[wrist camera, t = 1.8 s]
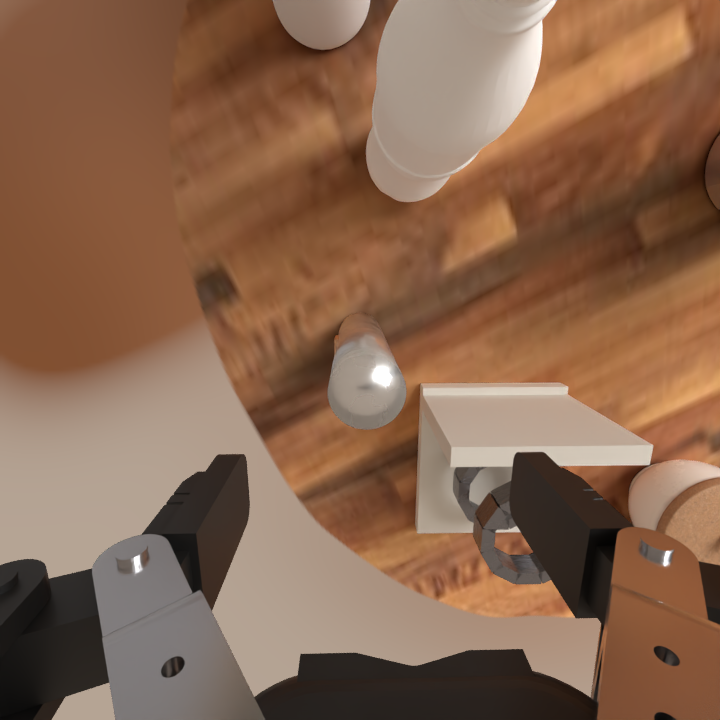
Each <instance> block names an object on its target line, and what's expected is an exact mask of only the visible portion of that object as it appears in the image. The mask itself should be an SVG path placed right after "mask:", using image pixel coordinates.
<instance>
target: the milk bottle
mask: <svg viewBox="0 0 720 720" xmlns="http://www.w3.org/2000/svg"><path fill="white" fill-rule="evenodd" d="M272 1H273V4H274V7H275V10H276V13H277V15H278V17H279V19H280V21H281V23H282V25H283V26H284V28H285V29H286V31H287V32H288V33H289V34H290V35H291V36H292V37H293V38H294V39H295V40H297V41H298V42H300V43H301V44H303V45H305V46H307V47H310V48H313V49H319V50H326V49H333V48H336V47H340V46H341V45H343V44H345V43H347V42H348V41H349V40H350V39H352V38H353V37H354V36H355V35H356V34H357V32H358V31H359V30H360V28H361V27H362V25H363V23H364V21H365V19H366V17H367V14H368V10H369V6H370V0H272Z"/></svg>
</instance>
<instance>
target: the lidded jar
mask: <svg viewBox="0 0 720 720" xmlns="http://www.w3.org/2000/svg"><path fill="white" fill-rule="evenodd" d="M628 509H629V515H630V518H631V521H632V523H633V525H634V527H640V528H646V529H651V530H654V531H657V532H660V533H663V534H665V535H668V536H670V537H672V538H674V539H676V540H677V541H679V542H681V543H682V544H684V545H685V546H686V547H688V548H689V549H690V550H691V551H692V552H693V553H694V554H695V556H696V557H697V559H698V561H700V562H705V563H711V564H716V565H720V468H718V467H716V466H713V465H710V464H707V463H703V462H699V461H693V460H669V461H665V462H661V463H656V464H652V465H649V466H647V467H645V468H644V469H642V470H641V471H640V472H639V473H638V474H637V475H636V476H635V477H634V478H633V480H632V482H631V484H630V487H629V498H628Z"/></svg>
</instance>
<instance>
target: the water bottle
mask: <svg viewBox="0 0 720 720" xmlns="http://www.w3.org/2000/svg"><path fill="white" fill-rule="evenodd" d="M556 1H557V0H399V1H398V2H397V4H396V6H395V7H394V9H393V11H392V13H391V15H390V17H389V19H388V21H387V23H386V25H385V28H384V32H383V35H382V38H381V41H380V46H379V51H378V56H377V72H376V74H377V84H376V91H375V95H374V99H373V107H372V124H373V127H372V128H371V130H370V133H369V136H368V140H367V146H366V162H367V167H368V171H369V174H370V176H371V178H372V180H373V182H374V183H375V185H376V186H377V187H378V189H379V190H380V191H381V192H383V193H385V194H386V195H388V196H390V197H392V198H393V199H395V200H397V201H400V202H417V201H420V200H423V199H425V198H428V197H430V196H431V195H433V194H435V193H436V192H437V191H438V190H439V189H441V188H442V186H443V185H444V184H445V183H446V182H447V180H448V179H449V177H450V176H451V175H453V174H455V173H457V172H458V171H460V170H461V169H463V168H464V167H465V166H467V165H468V164H469V163H470V162H471V161H472V160H473V159H474V158H475V157H476V156H477V154H478V153H479V151H480V150H481V149H482V148H484V147H485V146H487V145H488V144H490V143H492V142H493V141H495V140H496V139H497V138H498V137H499V136H500V135H501V134H503V133H504V132H505V131H506V130H507V129H508V127H509V126H510V125H511V124H512V123H513V121H514V120H515V119H516V117H517V116H518V114H519V113H520V111H521V110H522V108H523V107H524V105H525V103H526V101H527V99H528V96H529V94H530V92H531V90H532V88H533V86H534V83H535V79H536V76H537V73H538V69H539V64H540V58H541V50H542V19H544V17H545V16H546V15H547V14H548V12H549V11H550V10H551V9H552V7H553V6H554V4H555V3H556Z"/></svg>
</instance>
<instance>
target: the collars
mask: <svg viewBox="0 0 720 720" xmlns="http://www.w3.org/2000/svg"><path fill="white" fill-rule="evenodd" d="M484 468H486V467H456V468H455V470H454V471H455V472H454V476H453V493H454V495H455V497H456V499H457V501H458V504H459V505H460V507H461V509H462V510H463V512H464V514H465V516H466V517H467V519H468V520H469V521H471V522H473V523H474V525H473V537H474V539H475V541H476V544H477V546H478V548H479V550H480V553H481V554H482V556H483V558H484V560H485V561H486V563H487V565H488V566H489V568H490V570H491V571H492V572H493V574H495V575H497V576H499V577H501V578H503V579H505V580H507V581H509V582H511V583H513V584H541V581H542V583H545V582H547V581H549V580H551V579H550V577H549V575H548V574H547V572H546V571H545V569H544V568H543V566H542V564H541V563H540V561H539V560H538V558H537V557H536V555H535V554H534V552H533V553H531V554H529V555H508V554H506V553H504V552H503V551H501V550H499V549H497V548H495V547H494V543H495V532H496V530H509V528H510V529H511V528H514V527H516V526H517V525H516V524H515V522H514V521H513V518H512V515H511V512H510V505H509V497H510V487H511V481H509V482H507V483H505V484H503V485H501V486H499V487H497V488H495V489H493V490H491V493H490V492H489V493H488V494H487V496H486V497H485V498H484V500H483V501H482V503H481V504H480V505H477V504H475V503H474V502H472V501H470V500H469V492H470V484H471V483H472V481H473V480H474V478H475V477H476V475H477V474H478V473H479V471H480V470H482V469H484Z"/></svg>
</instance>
